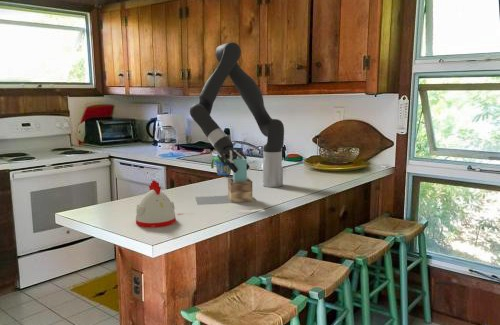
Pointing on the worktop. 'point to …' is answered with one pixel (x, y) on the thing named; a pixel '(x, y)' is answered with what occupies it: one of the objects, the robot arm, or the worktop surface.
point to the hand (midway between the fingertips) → (242, 170)
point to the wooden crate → (240, 191)
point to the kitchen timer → (155, 208)
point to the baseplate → (215, 200)
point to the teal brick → (240, 170)
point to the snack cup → (221, 167)
